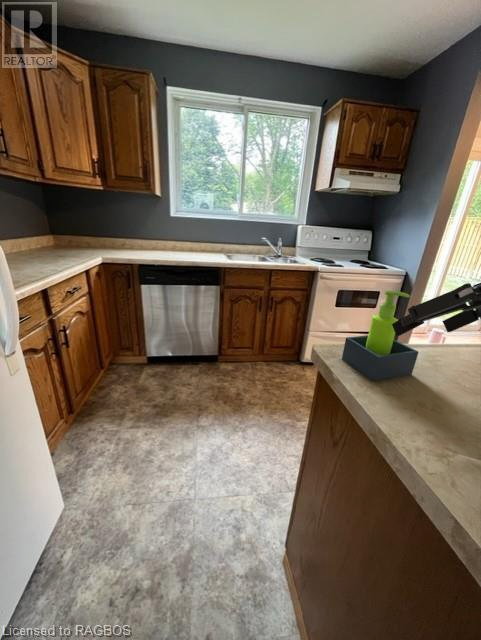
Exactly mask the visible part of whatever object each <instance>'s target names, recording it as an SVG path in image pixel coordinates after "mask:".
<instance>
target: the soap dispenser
mask: <svg viewBox="0 0 481 640" xmlns="http://www.w3.org/2000/svg"><path fill="white" fill-rule="evenodd" d="M384 295H385V296H386V297H385V302H382V303H380V305H379V306H380V307H379V310H378V314H373V315H371V321H370V326H369V330H368V334H367V335H368V338H367V343H366V347H365V348H367V349H369V350H370V351H372V352H374V353H375V354H377V355H386V354H390V351H391V347H392V344H393V340H395V336H396V334H395V331H394V329H393V326H392V324H393V323H395V322H396V321H398V320H399V319H398V318H396V317H395V312H396V309H397V305H396V304H395V303H394V301H395V297H396V296H397V297H399V296H400V297H404V298H407V299H409V298H411V297H412V296H411V295H410V294H408V293H406V292H402V291H397V290H384Z"/></svg>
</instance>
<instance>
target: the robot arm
mask: <svg viewBox="0 0 481 640" xmlns="http://www.w3.org/2000/svg"><path fill="white" fill-rule="evenodd" d="M459 311H460V312H459ZM407 312H408V314H406V315H404V316H403V317H402V318H400V319H398V321H396V322H395V323H393V324H392V326H393V329H394V331H395V336H396V337H400V336H402V335H404V334H406V333H408V332H410V331H412V330H414V329H416V328H418V327H420V326H422V325H424V324H425V322H426V321H429V320H433V319H436V318H439V317H443V316H447V315H449V314H452V313H455V312H456V314H454V315H452V316H450V317H448V318H446V319H443V320H442V321H441V322H442V324H443V326H444V328H445V330H446V333H452V332H454V331H456V330H458V329H461V328H464V327H466V326H468V325H470V324H473V323H475V322H478V321H480V320H481V282H478V283H476V284H473V285H472V284H471V283H469V282H468V283H464V284H462V285H460V286H458V287H457V288H454V289H453V290H450V291H447V292H445V293H443V294H441V295H439V296H435V297H433V298H431V299H428V300H426V301H424V302H421V303H418V304H415V305H412V306H410V307H409V308H407ZM457 312H458V313H457Z"/></svg>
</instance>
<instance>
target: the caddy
mask: <svg viewBox="0 0 481 640" xmlns="http://www.w3.org/2000/svg"><path fill="white" fill-rule="evenodd" d="M367 338H368V334H365V335H358V336H357V335H355V336H348V337H345V341H344V346H343V350H342V354H341V355H342V356H341V360H342V361H343V362H345V363H346V364H348V365H349V366H351V367H352V368H354V369H355V370H356V371H358V373H360V374H361V375H363V376H364V377H366V378H367V379H369V380H370V381H371V382H378V381H383V380H389V379H395V378H401V377H406V376H407V377H408V376H412V375H413V373H414V369H415V365H416V363H417V362H416V361H417V359H418V355H419V350H416V349H414V348H412V347H411V346H408V345H406V344H404V343H402V342H400V341H398V340H396V339H394V340H393V344H392V347H391V351H390V354H386V355H377V354H375V353H374V352H372V351H370V350H369V349H367V348H365V347H366V343H367Z"/></svg>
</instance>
